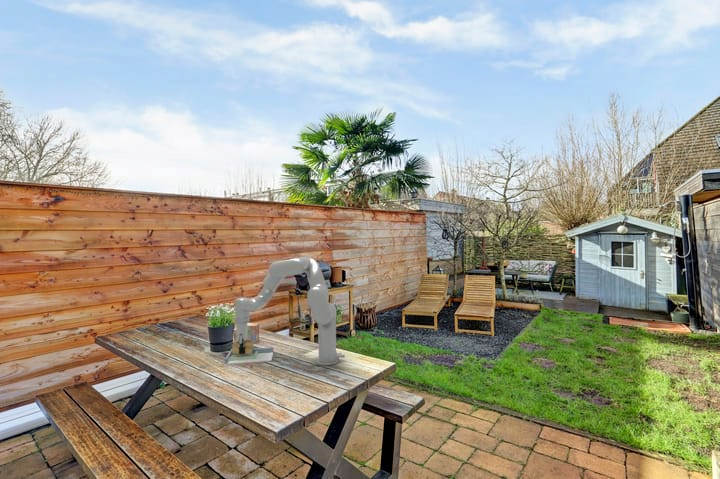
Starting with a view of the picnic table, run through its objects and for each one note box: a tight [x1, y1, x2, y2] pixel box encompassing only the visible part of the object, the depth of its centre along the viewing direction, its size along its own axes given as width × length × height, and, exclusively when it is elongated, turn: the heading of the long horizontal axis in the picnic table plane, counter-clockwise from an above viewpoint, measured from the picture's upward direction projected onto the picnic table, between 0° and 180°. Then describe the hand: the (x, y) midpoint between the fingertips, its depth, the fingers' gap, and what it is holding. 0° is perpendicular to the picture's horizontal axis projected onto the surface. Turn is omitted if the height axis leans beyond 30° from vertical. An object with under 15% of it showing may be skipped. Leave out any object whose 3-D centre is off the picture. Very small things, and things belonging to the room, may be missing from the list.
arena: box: [224, 346, 274, 365], centre depth 190 cm, size 24×14×3 cm, turn 100°
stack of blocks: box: [234, 322, 260, 345], centre depth 218 cm, size 21×6×12 cm, turn 86°
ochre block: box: [232, 340, 254, 355], centre depth 191 cm, size 5×10×6 cm, turn 101°
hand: (242, 351), depth 191 cm, fingers closed on ochre block, 5 cm apart
